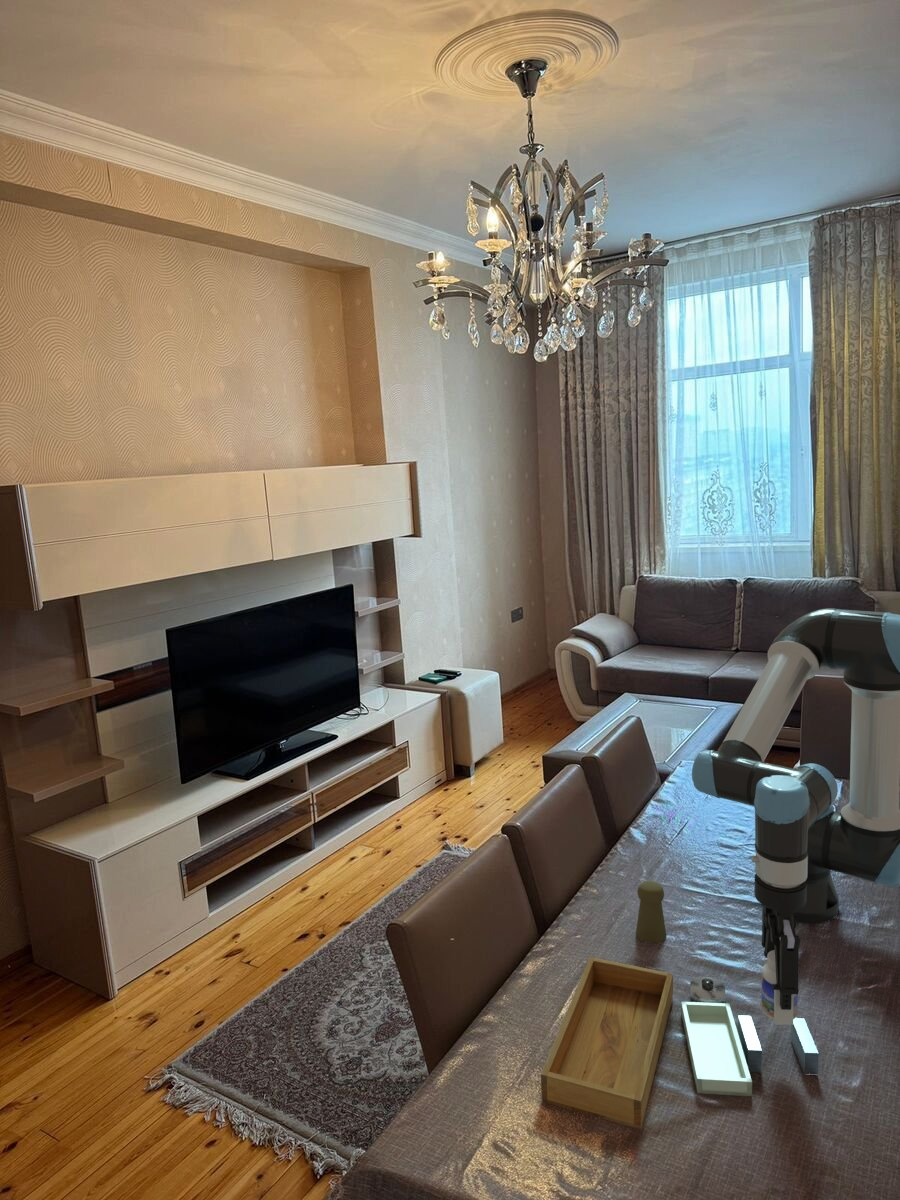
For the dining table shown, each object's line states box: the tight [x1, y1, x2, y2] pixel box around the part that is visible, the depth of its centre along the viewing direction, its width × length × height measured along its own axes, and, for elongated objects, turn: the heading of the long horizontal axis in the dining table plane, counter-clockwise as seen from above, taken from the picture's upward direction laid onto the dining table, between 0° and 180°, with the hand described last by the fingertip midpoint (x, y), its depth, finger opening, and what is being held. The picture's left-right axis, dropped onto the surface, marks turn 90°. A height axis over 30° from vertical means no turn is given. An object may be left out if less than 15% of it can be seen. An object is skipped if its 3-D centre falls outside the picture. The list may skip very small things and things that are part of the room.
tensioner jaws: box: [737, 1015, 820, 1075], centre depth 133 cm, size 10×8×4 cm
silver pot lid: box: [689, 976, 726, 1003], centre depth 148 cm, size 6×6×3 cm
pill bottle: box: [761, 950, 799, 1021], centre depth 132 cm, size 5×5×10 cm
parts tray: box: [680, 1001, 753, 1097], centre depth 135 cm, size 8×18×2 cm, turn 172°
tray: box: [540, 956, 674, 1130], centre depth 137 cm, size 31×15×6 cm, turn 157°
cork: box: [635, 880, 667, 944], centre depth 167 cm, size 6×6×11 cm
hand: (778, 1009), depth 133 cm, fingers closed on pill bottle, 5 cm apart
